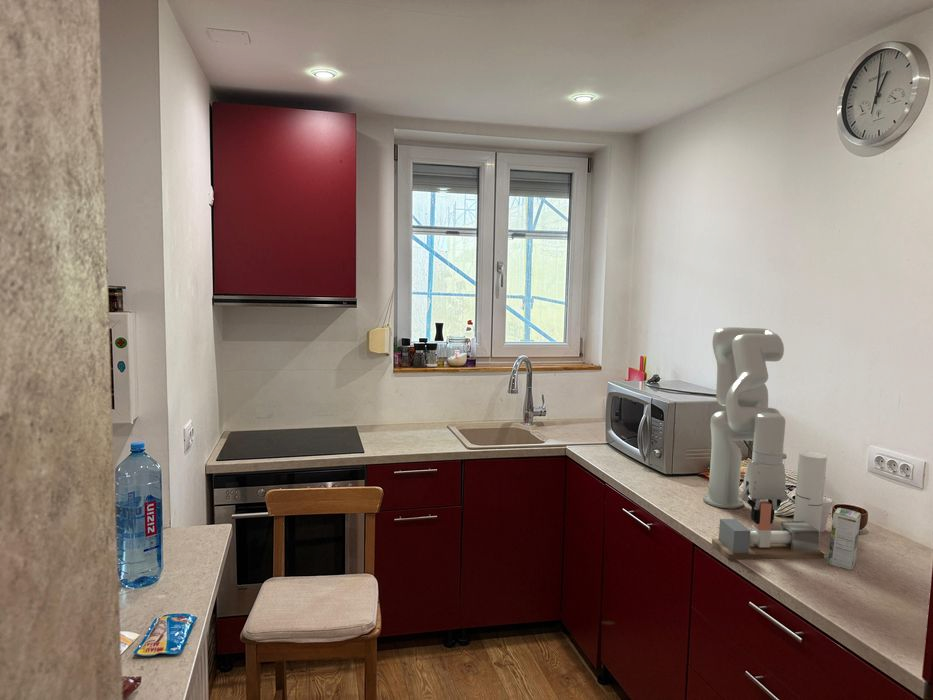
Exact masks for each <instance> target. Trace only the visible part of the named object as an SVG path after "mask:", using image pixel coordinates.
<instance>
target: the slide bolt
mask: <svg viewBox="0 0 933 700" xmlns="http://www.w3.org/2000/svg"><path fill="white" fill-rule="evenodd" d="M771 507H772V504H771V503H769V502H768V501H767V499H761V500H760V505H759V510H760V511H761V513H760V523H759V524H756V523H755V522H754V521H753V524H752V525H751V530H750V543H749V544H756V545H757V546H758V547H770V544H791V541H792V533H791V532H790V531H780V530H770V529H771V524H770V519H771Z"/></svg>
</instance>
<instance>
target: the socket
mask: <svg viewBox="0 0 933 700" xmlns="http://www.w3.org/2000/svg"><path fill="white" fill-rule="evenodd" d="M750 531H751V530H750V529H749V528H748V527H746V526H745V525H744V524H742V523H741V522H740V521H739V519H736V518H720V519H719V529H718V539H719V541H720V542H721V543H722V544H723V545H724V546H726V547H727V548H728V549H729V550H730V551H731V552H732V553H749V543H750Z"/></svg>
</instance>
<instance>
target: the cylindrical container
mask: <svg viewBox="0 0 933 700" xmlns="http://www.w3.org/2000/svg"><path fill="white" fill-rule="evenodd" d="M827 458H828V456H827V455H825V454H824V453H820V452H816V451H811V450H810V451H808V450H807V451H799V452H798V462H797V464H798V465H797V473H796V474H797V475H796V485H795V486H796V487H795V496H794V508H793V509H794V510H793V520H792V521H805V522H806V523H808V524H809V525H811V526H812V527H814V528H815V529H817V530H818V531H820V526H821V515H822V505H823V504H822V503H823V497H824V492H825V483H826V481H825V480H826V472H827V471H826V470H827V460H828V459H827ZM820 536H821V532H819V538H820Z"/></svg>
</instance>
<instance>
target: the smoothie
mask: <svg viewBox="0 0 933 700" xmlns="http://www.w3.org/2000/svg"><path fill="white" fill-rule="evenodd" d="M822 504H823V505H822V515H821V526H820V533H823V532H826V527H827V523H828V519H829V516H830V515H829V514H830V513H831V512H830V511H831V507H832V505H833V499H831V498H829V497H827V496H826V497H825V496H823V503H822Z"/></svg>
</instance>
